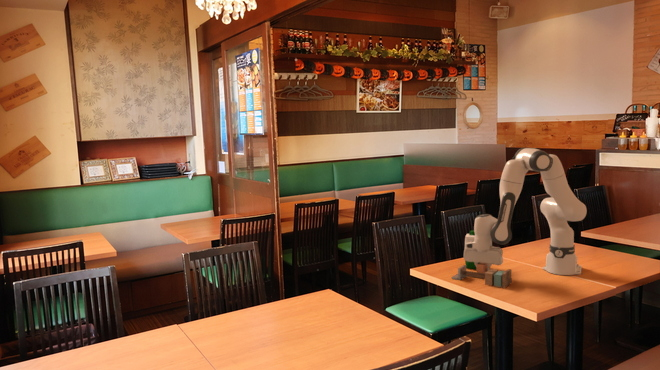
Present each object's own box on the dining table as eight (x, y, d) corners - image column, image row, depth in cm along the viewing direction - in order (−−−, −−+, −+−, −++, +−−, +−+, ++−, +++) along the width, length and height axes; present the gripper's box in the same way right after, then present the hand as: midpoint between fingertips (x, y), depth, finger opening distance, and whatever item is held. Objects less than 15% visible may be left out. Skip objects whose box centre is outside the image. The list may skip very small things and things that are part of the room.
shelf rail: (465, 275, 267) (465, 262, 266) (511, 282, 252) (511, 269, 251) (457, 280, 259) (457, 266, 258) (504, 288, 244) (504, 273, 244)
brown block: (491, 280, 257) (491, 269, 256) (497, 281, 255) (497, 270, 254) (484, 284, 251) (485, 272, 250) (491, 285, 249) (491, 273, 248)
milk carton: (482, 265, 284) (482, 230, 282) (480, 270, 276) (480, 233, 274) (466, 264, 288) (466, 229, 285) (463, 268, 279) (463, 233, 277)
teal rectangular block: (500, 282, 254) (500, 270, 254) (507, 283, 252) (507, 271, 251) (494, 286, 248) (494, 274, 247) (501, 287, 246) (501, 275, 245)
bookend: (457, 275, 268) (457, 264, 267) (466, 276, 265) (466, 265, 264) (451, 278, 262) (451, 267, 261) (460, 280, 259) (460, 268, 258)
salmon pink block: (482, 272, 271) (482, 261, 270) (489, 273, 269) (489, 262, 268) (476, 276, 265) (476, 264, 264) (483, 277, 263) (483, 265, 262)
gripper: (504, 246, 261) (504, 272, 263) (467, 241, 274) (467, 266, 275) (500, 248, 256) (500, 275, 258) (462, 244, 269) (462, 269, 270)
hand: (482, 270), depth 267 cm, fingers closed on salmon pink block, 3 cm apart
